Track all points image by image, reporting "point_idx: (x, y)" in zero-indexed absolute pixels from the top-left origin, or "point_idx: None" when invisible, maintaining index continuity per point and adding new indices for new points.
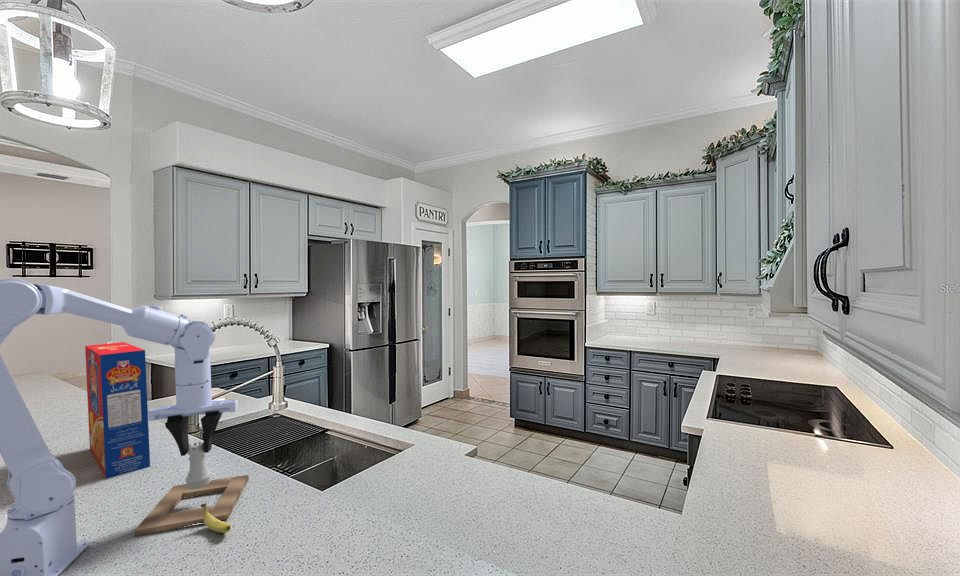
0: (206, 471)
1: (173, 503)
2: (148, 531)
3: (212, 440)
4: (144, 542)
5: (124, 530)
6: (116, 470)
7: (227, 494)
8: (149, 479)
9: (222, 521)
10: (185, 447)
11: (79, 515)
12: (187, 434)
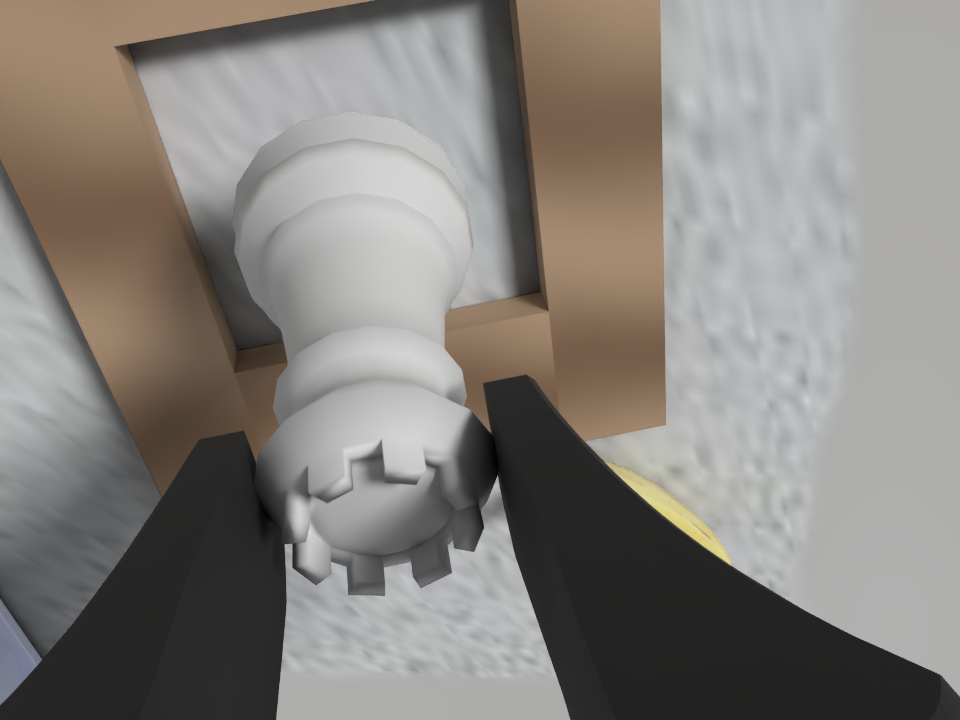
0: (449, 288)
1: (177, 235)
2: None
3: (572, 431)
4: (287, 545)
5: (44, 440)
6: None
7: (575, 157)
8: None
9: (671, 513)
10: (266, 583)
11: None
12: (193, 620)
